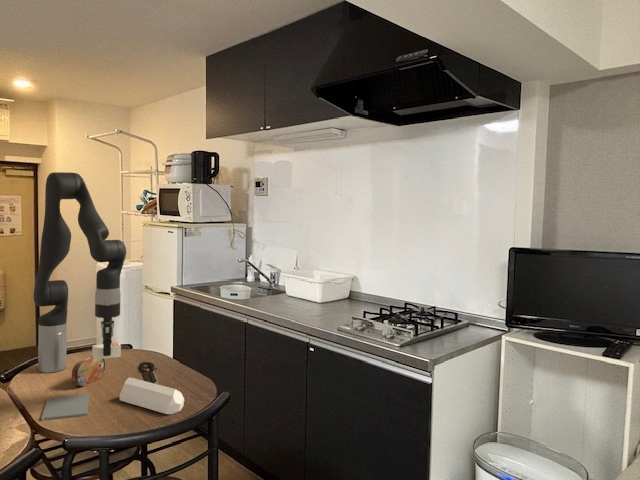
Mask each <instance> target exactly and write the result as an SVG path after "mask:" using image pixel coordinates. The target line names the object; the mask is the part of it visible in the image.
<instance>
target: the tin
mask: <svg viewBox="0 0 640 480" xmlns="http://www.w3.org/2000/svg"><path fill="white" fill-rule="evenodd" d="M105 370H106V360H105V358H104V359H95V360H94V358H93V356H92V355H91V356H89V357H87V358H85V359H82V360H80V361H78V362H77V363H75V364H74V366H73V367H72V371H71V381H72V383H73V385H75V386H78V387H86V386H87V385H90V384H92V383H94V382H95V381H97V380H100V379H101V378H102V376H103V375H104V373H105Z"/></svg>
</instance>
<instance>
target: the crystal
mask: <svg viewBox="0 0 640 480" xmlns="http://www.w3.org/2000/svg"><path fill="white" fill-rule="evenodd" d="M119 401H121V402H125V403H127V404H131V405H135V406H138V407H142V408H145V409H149V410H152V411H155V412H159V413H161V414H165V415H174V414H176V413H178V412H180V411H181V410H182V409H183V407H184V406H185V405H184V404H185V398H184V396H183V394H182V392H181V391H180V390H177V389H176V388H172V387H168V386H164V385H161V384H158V383H156V384H154V383H153V382H152V383H150V382H146V381H145V380H141V379H137V378H134V377H130V376H128V378H127V379H126V380H125V381H124V384H123V386H122V389H121V391H120V393H119Z"/></svg>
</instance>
